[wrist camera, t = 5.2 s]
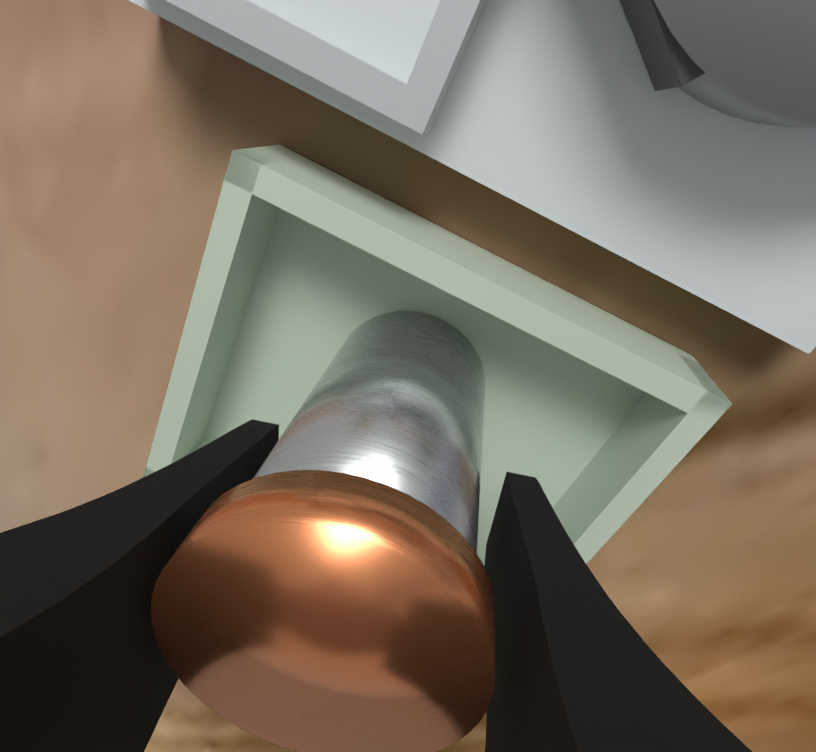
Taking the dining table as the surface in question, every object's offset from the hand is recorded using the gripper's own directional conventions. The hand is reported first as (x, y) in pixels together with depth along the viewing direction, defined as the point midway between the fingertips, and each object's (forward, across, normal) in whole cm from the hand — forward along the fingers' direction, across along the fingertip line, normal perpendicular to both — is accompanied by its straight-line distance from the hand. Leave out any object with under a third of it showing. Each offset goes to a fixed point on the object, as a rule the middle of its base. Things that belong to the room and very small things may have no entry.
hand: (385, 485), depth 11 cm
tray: (+4, 0, 0) cm, 4 cm away
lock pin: (+3, 0, -1) cm, 3 cm away
